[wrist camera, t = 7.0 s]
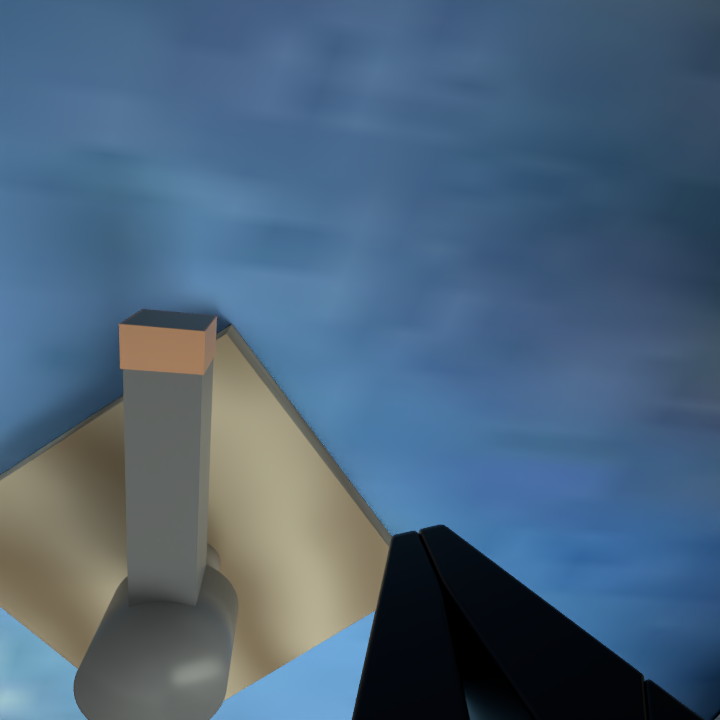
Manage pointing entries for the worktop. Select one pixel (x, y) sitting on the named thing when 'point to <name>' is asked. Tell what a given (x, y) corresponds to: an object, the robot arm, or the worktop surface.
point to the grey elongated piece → (164, 538)
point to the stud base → (224, 532)
